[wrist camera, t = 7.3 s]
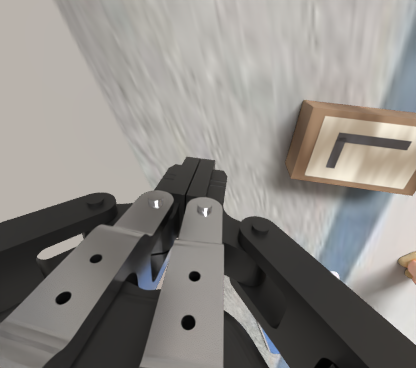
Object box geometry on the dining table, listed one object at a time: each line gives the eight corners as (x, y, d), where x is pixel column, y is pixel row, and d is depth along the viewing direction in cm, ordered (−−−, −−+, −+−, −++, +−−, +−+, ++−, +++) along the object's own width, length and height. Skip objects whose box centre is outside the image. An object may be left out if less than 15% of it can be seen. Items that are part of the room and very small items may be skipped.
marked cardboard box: (313, 107, 16) (461, 124, 15) (302, 99, 19) (425, 113, 18) (290, 178, 19) (412, 196, 18) (284, 161, 22) (388, 176, 21)
